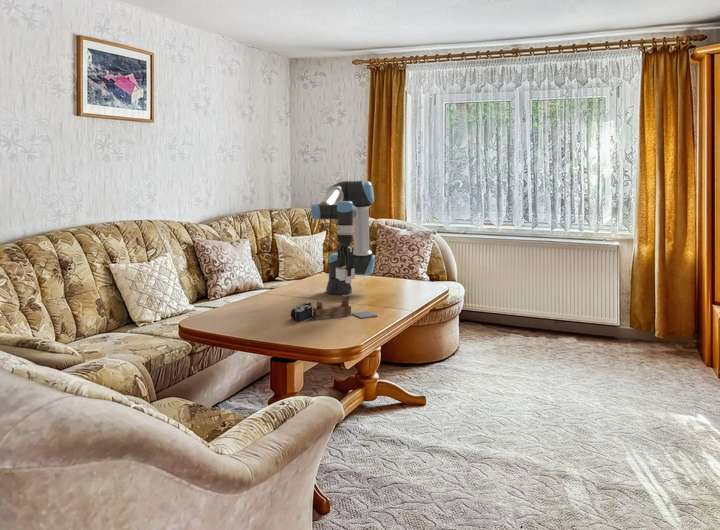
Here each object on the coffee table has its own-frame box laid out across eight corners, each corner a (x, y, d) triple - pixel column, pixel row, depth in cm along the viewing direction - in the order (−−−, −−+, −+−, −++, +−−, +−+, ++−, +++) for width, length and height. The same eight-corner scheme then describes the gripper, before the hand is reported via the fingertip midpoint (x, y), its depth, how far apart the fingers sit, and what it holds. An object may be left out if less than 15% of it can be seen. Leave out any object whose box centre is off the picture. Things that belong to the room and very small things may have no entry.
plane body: (316, 319, 272) (316, 299, 271) (312, 316, 277) (311, 297, 276) (351, 315, 281) (351, 296, 279) (346, 312, 286) (346, 294, 284)
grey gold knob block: (335, 277, 278) (335, 266, 277) (349, 276, 281) (349, 265, 280) (341, 280, 272) (341, 268, 272) (354, 278, 275) (354, 266, 275)
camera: (300, 315, 280) (299, 297, 278) (314, 316, 277) (313, 299, 275) (287, 324, 269) (285, 305, 267) (301, 325, 266) (300, 306, 264)
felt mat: (351, 314, 283) (351, 313, 283) (367, 312, 287) (367, 311, 287) (360, 318, 274) (360, 317, 274) (377, 316, 278) (377, 315, 278)
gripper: (329, 232, 281) (330, 278, 284) (346, 236, 263) (346, 285, 267) (344, 231, 284) (344, 277, 287) (361, 235, 266) (361, 284, 270)
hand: (345, 281), depth 277 cm, fingers closed on grey gold knob block, 6 cm apart
